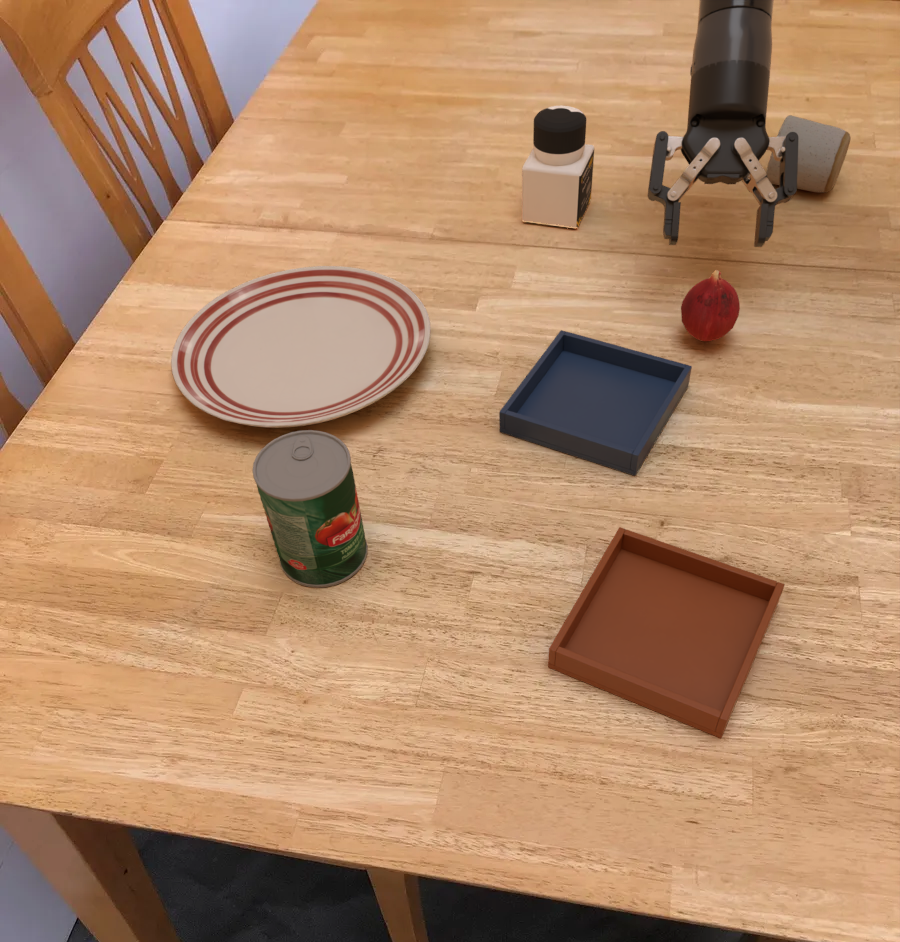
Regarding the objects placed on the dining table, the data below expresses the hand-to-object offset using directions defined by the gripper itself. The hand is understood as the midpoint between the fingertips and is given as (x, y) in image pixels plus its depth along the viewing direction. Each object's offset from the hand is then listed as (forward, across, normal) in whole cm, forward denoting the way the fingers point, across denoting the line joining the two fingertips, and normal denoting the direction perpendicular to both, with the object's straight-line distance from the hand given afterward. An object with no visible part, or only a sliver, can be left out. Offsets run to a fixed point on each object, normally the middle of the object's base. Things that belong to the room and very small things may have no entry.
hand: (716, 244), depth 93 cm
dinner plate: (+13, -42, 0) cm, 44 cm away
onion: (+9, 0, +4) cm, 10 cm away
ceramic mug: (-15, +13, +27) cm, 34 cm away
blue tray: (+17, -11, -5) cm, 21 cm away
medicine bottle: (-9, -17, +21) cm, 29 cm away
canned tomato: (+32, -35, -19) cm, 51 cm away
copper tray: (+36, -5, -24) cm, 44 cm away
